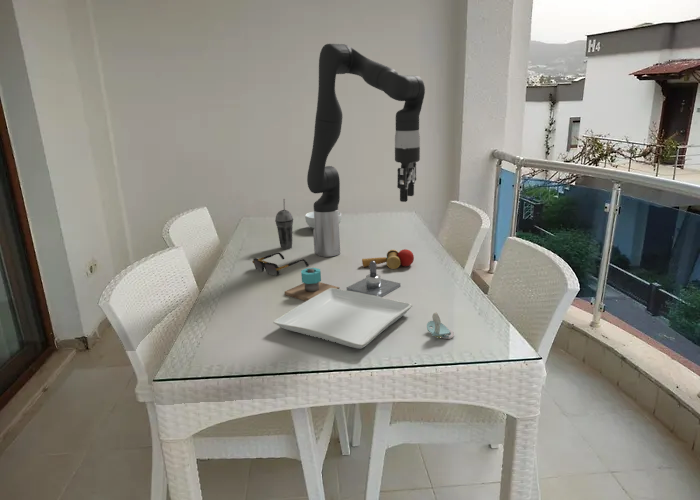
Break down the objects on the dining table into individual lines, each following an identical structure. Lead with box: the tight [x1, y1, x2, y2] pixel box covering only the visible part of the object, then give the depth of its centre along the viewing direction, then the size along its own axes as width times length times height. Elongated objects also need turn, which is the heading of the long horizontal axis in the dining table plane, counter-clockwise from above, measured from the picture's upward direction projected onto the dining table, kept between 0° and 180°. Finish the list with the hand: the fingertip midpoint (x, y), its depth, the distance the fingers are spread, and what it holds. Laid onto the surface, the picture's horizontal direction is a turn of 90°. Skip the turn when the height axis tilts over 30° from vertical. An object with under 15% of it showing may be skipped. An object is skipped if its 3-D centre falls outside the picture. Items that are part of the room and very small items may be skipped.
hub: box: [346, 261, 401, 297], centre depth 151 cm, size 12×12×9 cm
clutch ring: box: [300, 267, 322, 284], centre depth 149 cm, size 6×6×3 cm
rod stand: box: [284, 267, 340, 302], centre depth 150 cm, size 12×12×8 cm
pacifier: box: [426, 311, 455, 340], centre depth 120 cm, size 7×6×6 cm
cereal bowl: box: [304, 211, 342, 229], centre depth 225 cm, size 17×17×7 cm
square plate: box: [272, 288, 413, 350], centre depth 129 cm, size 27×27×4 cm
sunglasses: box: [252, 252, 310, 277], centre depth 174 cm, size 14×15×5 cm
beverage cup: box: [274, 198, 294, 250], centre depth 195 cm, size 7×7×20 cm
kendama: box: [361, 248, 415, 270], centre depth 171 cm, size 8×6×18 cm
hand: (407, 198), depth 152 cm, fingers open, 8 cm apart
